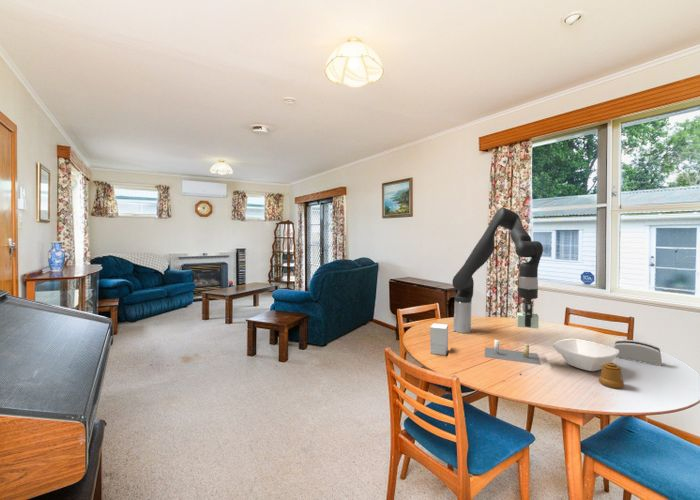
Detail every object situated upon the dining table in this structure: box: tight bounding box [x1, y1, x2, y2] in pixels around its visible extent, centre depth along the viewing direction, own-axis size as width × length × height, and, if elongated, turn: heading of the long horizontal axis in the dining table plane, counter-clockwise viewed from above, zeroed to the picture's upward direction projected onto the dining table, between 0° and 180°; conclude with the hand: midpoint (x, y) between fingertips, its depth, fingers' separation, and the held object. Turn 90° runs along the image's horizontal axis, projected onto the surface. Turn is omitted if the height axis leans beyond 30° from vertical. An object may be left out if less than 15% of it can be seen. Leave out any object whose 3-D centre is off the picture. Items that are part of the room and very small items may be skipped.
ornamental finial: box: [598, 362, 625, 390], centre depth 125 cm, size 8×8×8 cm
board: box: [483, 339, 542, 366], centre depth 151 cm, size 22×14×8 cm, turn 66°
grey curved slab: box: [613, 339, 663, 366], centre depth 148 cm, size 17×5×10 cm, turn 48°
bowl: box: [552, 338, 619, 372], centre depth 141 cm, size 21×21×9 cm
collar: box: [516, 312, 540, 330], centre depth 148 cm, size 8×6×5 cm
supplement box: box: [429, 323, 449, 356], centre depth 159 cm, size 7×7×13 cm
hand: (527, 324), depth 148 cm, fingers closed on collar, 6 cm apart
